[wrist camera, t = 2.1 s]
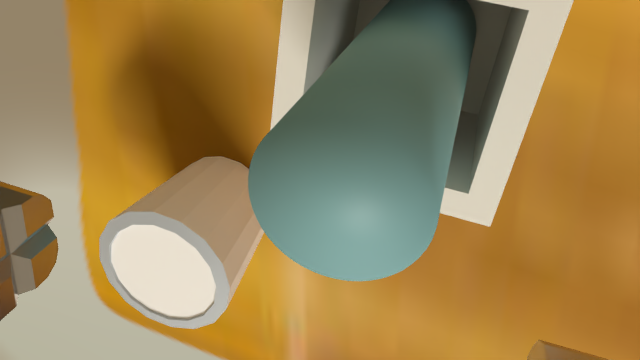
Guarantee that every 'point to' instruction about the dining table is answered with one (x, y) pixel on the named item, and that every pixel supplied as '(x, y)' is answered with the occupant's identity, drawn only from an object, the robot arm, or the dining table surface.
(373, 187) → the dowel
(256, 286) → the dining table surface
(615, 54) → the dining table surface
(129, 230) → the tan cylinder
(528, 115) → the deep box
